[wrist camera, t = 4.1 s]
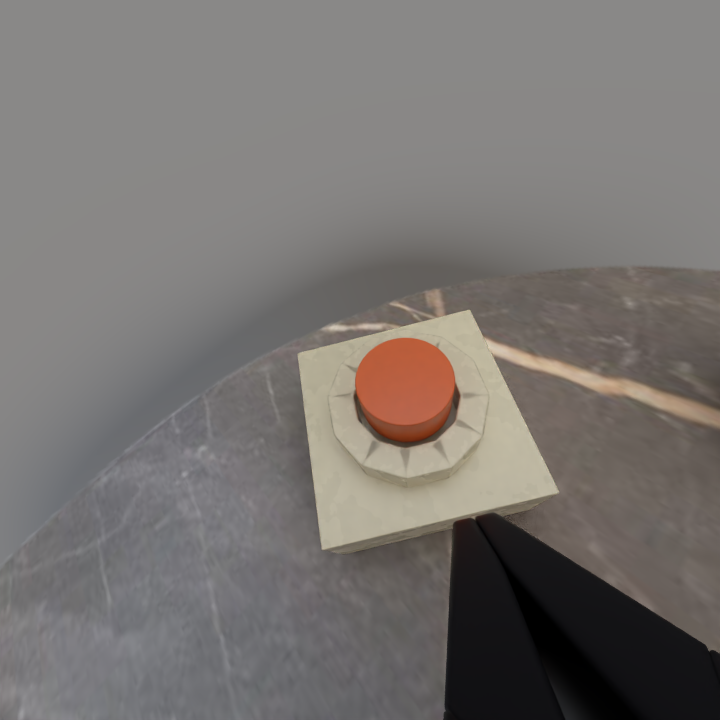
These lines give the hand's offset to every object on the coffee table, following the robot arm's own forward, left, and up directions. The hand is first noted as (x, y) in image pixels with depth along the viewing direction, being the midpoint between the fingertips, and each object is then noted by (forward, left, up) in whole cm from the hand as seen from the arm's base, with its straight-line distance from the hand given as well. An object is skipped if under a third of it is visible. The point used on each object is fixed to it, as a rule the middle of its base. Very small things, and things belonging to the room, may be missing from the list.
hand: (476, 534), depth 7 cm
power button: (+4, +5, -6) cm, 9 cm away
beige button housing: (+4, +5, -13) cm, 14 cm away
